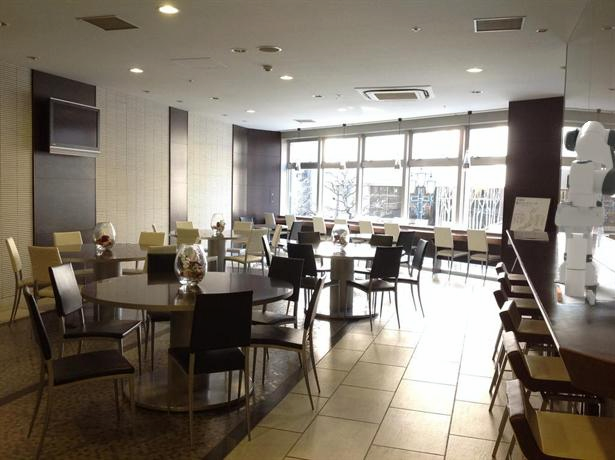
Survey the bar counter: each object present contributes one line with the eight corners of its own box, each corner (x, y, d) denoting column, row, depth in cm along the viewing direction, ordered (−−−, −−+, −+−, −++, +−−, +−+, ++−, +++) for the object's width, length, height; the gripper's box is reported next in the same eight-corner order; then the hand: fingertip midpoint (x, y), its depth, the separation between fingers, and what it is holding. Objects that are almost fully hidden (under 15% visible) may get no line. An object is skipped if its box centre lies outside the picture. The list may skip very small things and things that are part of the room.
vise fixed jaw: (586, 298, 211) (587, 289, 211) (590, 298, 211) (591, 290, 210) (590, 304, 198) (590, 295, 198) (594, 305, 198) (595, 295, 198)
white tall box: (580, 294, 221) (583, 233, 219) (587, 297, 214) (590, 234, 212) (561, 293, 222) (565, 233, 220) (568, 296, 215) (571, 234, 213)
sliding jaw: (555, 292, 222) (555, 284, 222) (558, 292, 221) (559, 285, 221) (557, 300, 203) (557, 292, 202) (561, 301, 202) (561, 292, 202)
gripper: (564, 201, 198) (562, 238, 199) (607, 203, 205) (605, 239, 205) (552, 201, 204) (549, 237, 205) (594, 202, 210) (591, 238, 211)
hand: (577, 238), depth 205 cm, fingers open, 7 cm apart
